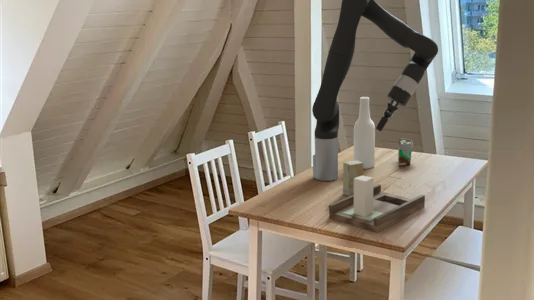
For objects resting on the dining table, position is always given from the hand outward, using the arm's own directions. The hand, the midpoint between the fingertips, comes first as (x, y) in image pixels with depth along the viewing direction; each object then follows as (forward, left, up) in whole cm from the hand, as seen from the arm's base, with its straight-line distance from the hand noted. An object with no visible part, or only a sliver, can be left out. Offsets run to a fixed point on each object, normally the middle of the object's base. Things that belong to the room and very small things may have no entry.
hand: (379, 128), depth 203 cm
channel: (+8, -17, -24) cm, 31 cm away
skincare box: (-8, -5, -25) cm, 26 cm away
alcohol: (-20, +29, -25) cm, 43 cm away
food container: (-6, +41, -25) cm, 48 cm away
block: (+7, -26, -22) cm, 35 cm away
